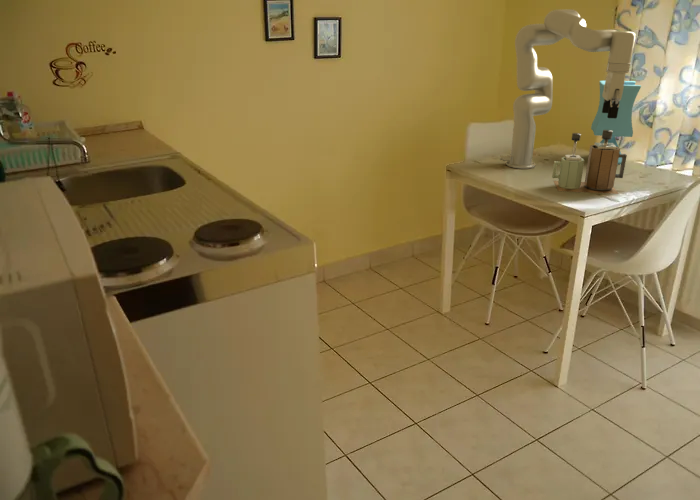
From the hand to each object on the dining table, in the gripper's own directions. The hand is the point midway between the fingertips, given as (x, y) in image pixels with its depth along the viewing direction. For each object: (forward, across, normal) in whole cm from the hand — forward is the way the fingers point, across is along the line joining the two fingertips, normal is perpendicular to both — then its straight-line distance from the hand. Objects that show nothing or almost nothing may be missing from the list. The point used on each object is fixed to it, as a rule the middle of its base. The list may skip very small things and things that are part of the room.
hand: (609, 115), depth 215 cm
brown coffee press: (+28, +1, +2) cm, 28 cm away
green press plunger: (+20, +1, -10) cm, 23 cm away
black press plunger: (+26, +1, +1) cm, 26 cm away
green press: (+28, +1, -12) cm, 30 cm away
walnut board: (+29, +1, -4) cm, 30 cm away
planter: (+30, -49, +14) cm, 59 cm away
